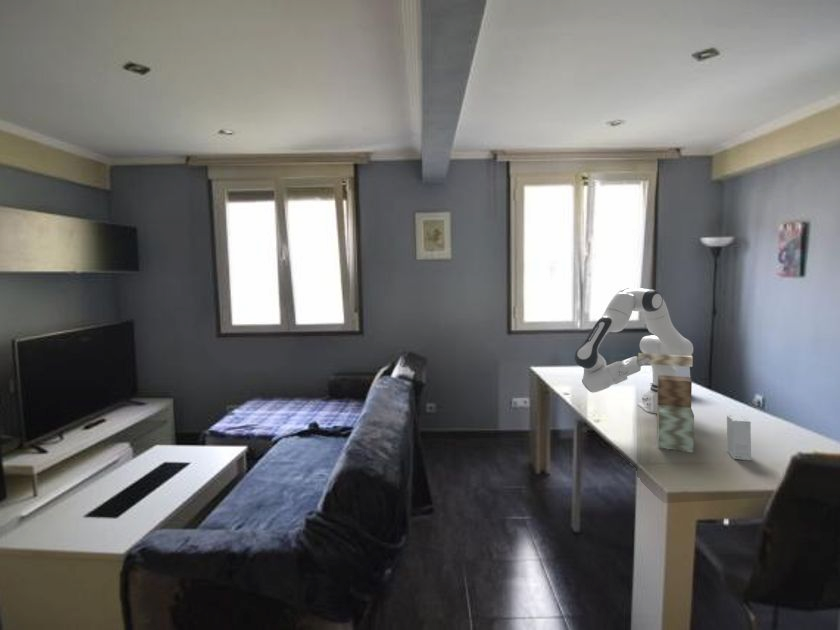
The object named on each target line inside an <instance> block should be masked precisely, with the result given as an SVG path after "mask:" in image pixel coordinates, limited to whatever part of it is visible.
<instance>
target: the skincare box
mask: <svg viewBox="0 0 840 630" xmlns="http://www.w3.org/2000/svg"><path fill="white" fill-rule="evenodd" d="M751 424H752V423H751V421H750V420H749V419H748V418H746V417H745V416H744V415H726V435H727V437H726V438H727V439H726V443H727V445H726V449H727V453H728V454H729V455H730V457H731V458H732V459H733V460H742V461H747V462H749V461H751V460H752V439H751V437H752V436H751V435H752V433H751V428H752V427H751Z"/></svg>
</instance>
